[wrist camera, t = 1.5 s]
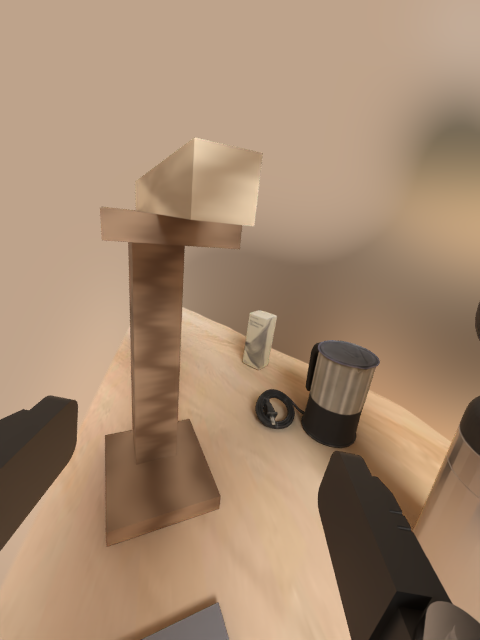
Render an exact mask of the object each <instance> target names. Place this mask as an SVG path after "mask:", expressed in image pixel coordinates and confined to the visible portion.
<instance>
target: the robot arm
mask: <svg viewBox="0 0 480 640" xmlns="http://www.w3.org/2000/svg"><path fill="white" fill-rule="evenodd" d="M475 327H476V332H477V336H478V338H479V340H480V303H479V305H478V308H477V312H476V317H475ZM77 417H78V404H77V401H75V400H71V399H66V398H61V397H55V396H47V397H45V398H44V399H42V400H41V401H40V402H39V403H38V404H36V405H35V406H34V407H33V408H32V409H30V410H24V409H23V410H21V411H18V412H16V413H14V414H12V415H10V416H7V417H5V418H3V419H1V420H0V551H1V549H2V548H3V547H4V546H5V544H6V543H7V541H8V540H9V539H10V538H11V536H12V535H13V534H14V533H15V531H16V530H17V529H18V527H19V526H20V525H21V523H22V522H23V521H24V519H25V518H26V517H27V516H28V514H29V513H30V512H31V510H32V509H33V508H34V506H35V505H36V504H37V503H38V501H39V500H40V499H41V497H42V496H43V495H44V494H45V492H46V491H47V490H48V488H49V487H50V486H51V484H52V483H53V482H54V481H55V479H56V478H57V477H58V475H59V474H60V473H61V471H62V470H63V469H64V468H65V466H66V465H67V464H68V462H69V460H70V459H71V457H72V455H73V452H74V450H75V446H76V441H77ZM318 508H319V513H320V517H321V521H322V525H323V529H324V533H325V537H326V541H327V545H328V549H329V553H330V557H331V561H332V565H333V569H334V573H335V576H336V580H337V584H338V588H339V592H340V596H341V600H342V604H343V608H344V612H345V616H346V620H347V624H348V628H349V632H350V636H351V640H480V396H478V397H476V398H475V399H473V400H472V401H471V402H470V403H469V405H468V407H467V408H466V410H465V412H464V415H463V417H462V420H461V422H460V424H459V427H458V429H457V431H456V433H455V436H454V438H453V440H452V443H451V445H450V447H449V450H448V452H447V454H446V457H445V459H444V461H443V463H442V466H441V468H440V470H439V473H438V475H437V477H436V479H435V482H434V484H433V486H432V489H431V491H430V493H429V495H428V498H427V500H426V502H425V504H424V507H423V509H422V511H421V514H420V516H419V518H418V520H417V523H416V525H415V527H414V529H413V531H412V532H411V527H410V525H409V523H408V521H407V520H406V518H405V516H403V515H402V510H401V509H400V507H399V505H398V503H397V501H396V499H395V498H394V496H393V494H392V493H391V492H390V490H389V489H388V488H387V487H386V486H385V485H384V484H383V483H382V482H381V481H380V479H379V478H378V477H374V476H372V475H371V473H370V471H369V469H368V467H367V465H366V463H365V461H364V460H363V458H362V457H361V456H359V455H355V454H350V453H344V452H339V451H335V452H334V453H333V454H332V456H331V458H330V461H329V463H328V466H327V469H326V471H325V474H324V477H323V479H322V482H321V484H320V487H319V492H318Z"/></svg>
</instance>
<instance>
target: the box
mask: <svg viewBox="0 0 480 640" xmlns="http://www.w3.org/2000/svg"><path fill="white" fill-rule="evenodd" d="M276 319H277V316H276V315H273V314H270V313H268V312H264V311H261V310H259V311H255V312H252V313H250V315H249V322H248V329H247V335H246V342H245V349H244V355H243V363H245V364H247V365H249V366H251V367H253V368H255V369H257V370H260V369H261V368H263V367H265V366H267V365H268V362H269V356H270V351H271V344H272V340H273V334H274V329H275V323H276Z"/></svg>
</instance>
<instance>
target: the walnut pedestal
mask: <svg viewBox="0 0 480 640" xmlns="http://www.w3.org/2000/svg"><path fill="white" fill-rule="evenodd" d="M100 216H101V232H102V233H101V235H102V240H105V241H121V242H128V248H129V293H130V337H131V380H132V424H133V430H130V431H125V432H120V433H115V434H109V435H105V476H106V541H107V547H108V546H111V545H114V544H117V543H119V542H122V541H125V540H128V539H131V538H134V537H137V536H140V535H143V534H146V533H149V532H152V531H155V530H158V529H161V528H163V527H166V526H169V525H172V524H175V523H178V522H181V521H184V520H187V519H190V518H193V517H196V516H199V515H202V514H205V513H207V512H210V511H213V510H216V509H219V504H220V494H219V491H218V489H217V486H216V484H215V481H214V479H213V476H212V474H211V471H210V469H209V466H208V464H207V461H206V459H205V456H204V454H203V451H202V449H201V447H200V444H199V442H198V439H197V437H196V434H195V432H194V429H193V427H192V424H191V422H190V419H187V420H182V421H178V396H179V372H180V347H181V322H182V297H183V273H184V248H185V246H197V247H213V248H228V249H240V241H241V232H242V225H237V224H227V223H218V222H208V221H199V220H190V219H184V218H178V217H172V216H166V215H160V214H154V213H148V212H142V211H136V210H127V209H118V208H108V207H101V208H100Z"/></svg>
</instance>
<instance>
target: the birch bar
mask: <svg viewBox="0 0 480 640" xmlns="http://www.w3.org/2000/svg"><path fill="white" fill-rule="evenodd" d="M262 155H263V153H260V152H256V151H252V150H247V149H243V148H239V147H234V146H230V145H225V144H221V143H216V142H212V141H208V140H204V139H199V138H193V139H192V140H191V141H189V142H188V143H186V144H185V145H184V146H182V147H181V148H180V149H178V150H177V151H176V152H174V153H173V154H172V155H170V156H169V157H168V158H166V159H165V160H164V161H162V162H161V163H160V164H158V165H157V166H155V167H154V168H153V169H151V170H150V171H149V172H148V173H146V174H145V175H143V176H142V177H141V178H139V179H138V180H137V181H136V182H135V186H136V211H142V212H148V213H154V214H160V215H166V216H172V217H178V218H184V219H190V220H199V221H208V222H218V223H227V224H237V225H247V226H254V224H255V215H256V207H257V198H258V190H259V181H260V173H261V164H262Z"/></svg>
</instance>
